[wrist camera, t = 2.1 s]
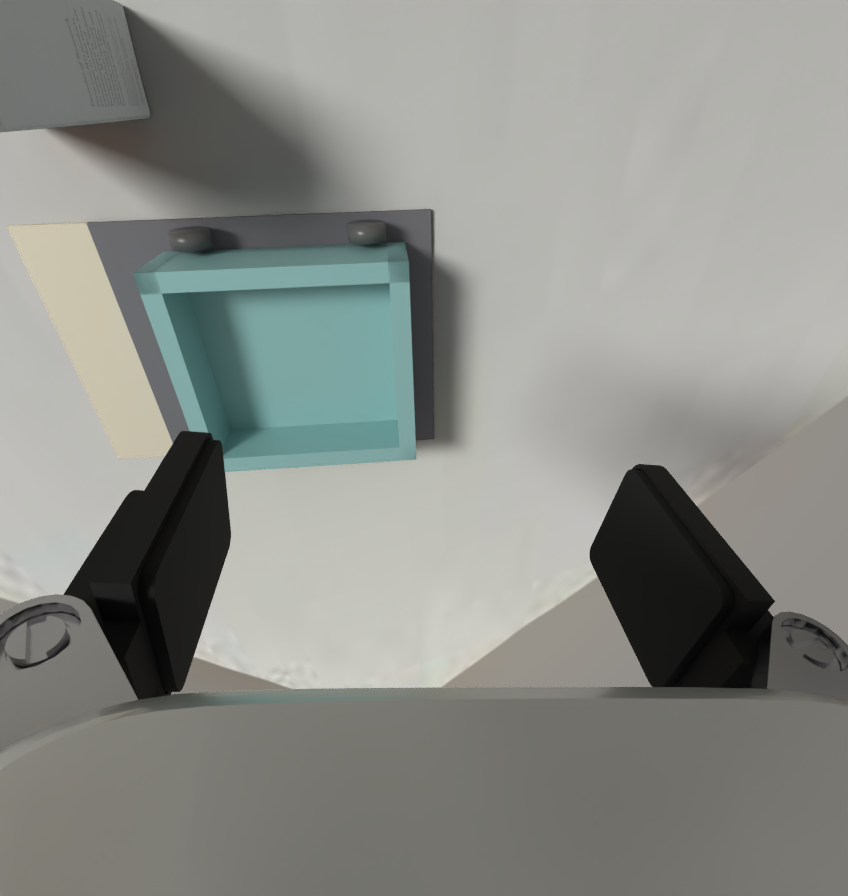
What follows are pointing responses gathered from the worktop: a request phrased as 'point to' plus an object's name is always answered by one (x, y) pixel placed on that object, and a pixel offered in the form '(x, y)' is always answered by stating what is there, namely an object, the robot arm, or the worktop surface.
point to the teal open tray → (288, 346)
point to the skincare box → (67, 65)
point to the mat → (127, 323)
